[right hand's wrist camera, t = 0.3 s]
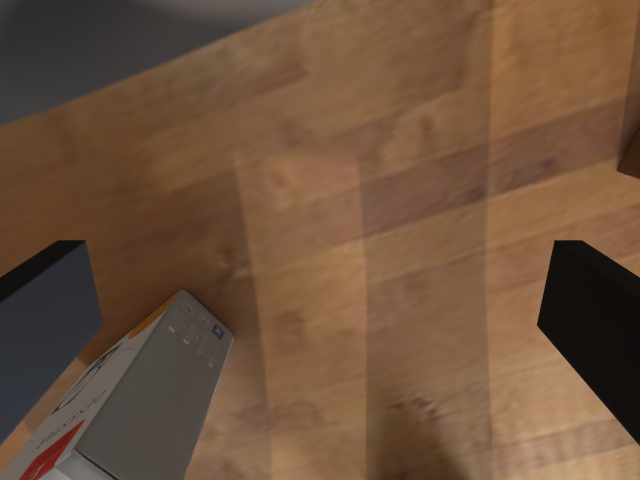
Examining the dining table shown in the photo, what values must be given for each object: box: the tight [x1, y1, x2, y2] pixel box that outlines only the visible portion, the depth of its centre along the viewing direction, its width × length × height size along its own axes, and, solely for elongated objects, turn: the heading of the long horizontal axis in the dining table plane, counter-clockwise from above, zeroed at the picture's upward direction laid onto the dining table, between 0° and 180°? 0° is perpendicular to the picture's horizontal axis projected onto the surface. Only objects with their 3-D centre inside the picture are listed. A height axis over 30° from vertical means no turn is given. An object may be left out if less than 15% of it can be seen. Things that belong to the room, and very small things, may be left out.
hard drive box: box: [0, 289, 234, 480], centre depth 36 cm, size 16×8×20 cm, turn 130°
